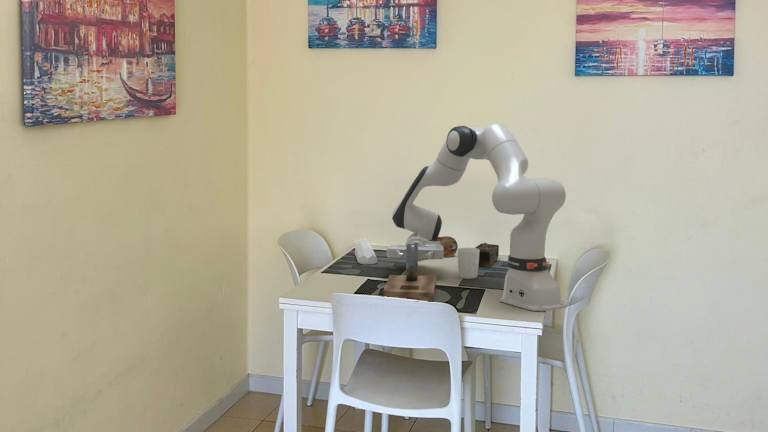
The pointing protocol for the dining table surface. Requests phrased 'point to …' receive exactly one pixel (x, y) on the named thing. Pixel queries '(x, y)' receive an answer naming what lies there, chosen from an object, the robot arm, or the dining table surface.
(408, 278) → the pin
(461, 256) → the white cup
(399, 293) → the socket block
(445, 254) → the tin
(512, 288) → the robot arm
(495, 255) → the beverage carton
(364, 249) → the white rounded block
